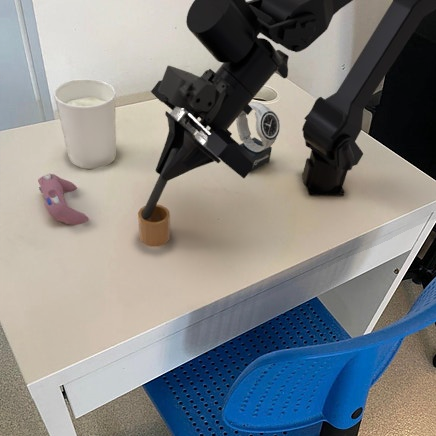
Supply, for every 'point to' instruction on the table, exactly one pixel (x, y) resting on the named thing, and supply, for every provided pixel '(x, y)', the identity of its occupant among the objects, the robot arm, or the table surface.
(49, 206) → the video game controller
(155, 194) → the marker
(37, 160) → the table surface
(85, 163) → the candle holder
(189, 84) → the robot arm
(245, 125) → the watch
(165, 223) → the brown wooden cup
